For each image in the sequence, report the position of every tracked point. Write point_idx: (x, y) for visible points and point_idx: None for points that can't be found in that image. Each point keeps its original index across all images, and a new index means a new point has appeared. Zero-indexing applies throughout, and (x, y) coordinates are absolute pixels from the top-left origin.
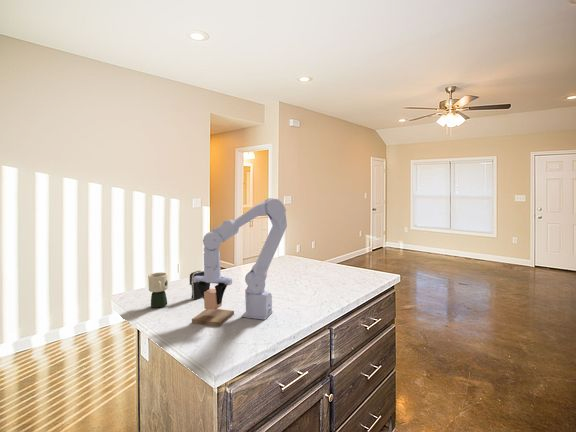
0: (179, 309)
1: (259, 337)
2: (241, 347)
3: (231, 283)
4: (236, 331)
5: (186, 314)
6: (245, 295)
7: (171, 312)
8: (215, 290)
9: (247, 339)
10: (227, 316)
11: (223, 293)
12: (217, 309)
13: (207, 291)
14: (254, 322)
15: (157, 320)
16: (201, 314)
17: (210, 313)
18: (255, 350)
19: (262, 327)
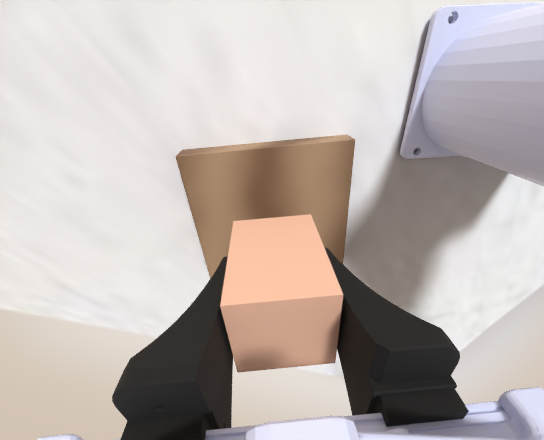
0: (3, 175)
1: (493, 279)
2: (443, 329)
3: (540, 404)
4: (409, 271)
5: (111, 216)
6: (531, 160)
7: (19, 221)
8: (301, 325)
9: (455, 297)
10: (347, 215)
11: (363, 285)
12: (247, 156)
13: (251, 357)
14: (471, 187)
15: (70, 295)
16: (214, 239)
17: (247, 216)
18: (481, 328)
19: (507, 218)
